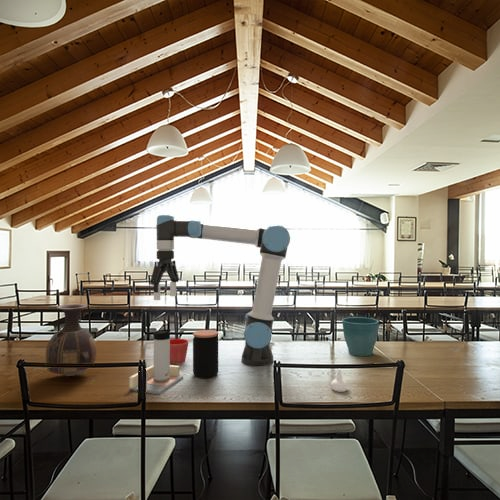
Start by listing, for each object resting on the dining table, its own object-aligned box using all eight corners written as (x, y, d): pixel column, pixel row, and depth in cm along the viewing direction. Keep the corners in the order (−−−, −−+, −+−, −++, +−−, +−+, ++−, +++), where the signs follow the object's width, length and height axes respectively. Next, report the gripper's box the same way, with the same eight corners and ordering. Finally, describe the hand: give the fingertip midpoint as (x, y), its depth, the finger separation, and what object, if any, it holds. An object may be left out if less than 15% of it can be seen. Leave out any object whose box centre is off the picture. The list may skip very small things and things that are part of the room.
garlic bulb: (329, 387, 148) (327, 367, 148) (345, 386, 148) (343, 365, 148) (333, 394, 142) (331, 372, 142) (350, 392, 142) (348, 371, 142)
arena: (183, 378, 157) (183, 366, 157) (159, 394, 140) (159, 380, 140) (155, 375, 161) (155, 363, 161) (129, 390, 144) (129, 377, 144)
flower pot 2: (340, 356, 189) (340, 322, 189) (343, 347, 206) (343, 316, 206) (378, 359, 183) (378, 324, 183) (378, 350, 200) (378, 318, 200)
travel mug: (171, 381, 150) (171, 331, 150) (153, 383, 148) (153, 332, 148) (169, 376, 156) (170, 327, 156) (153, 378, 154) (153, 328, 154)
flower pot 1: (183, 365, 174) (183, 344, 174) (161, 364, 176) (161, 343, 176) (191, 359, 185) (191, 339, 185) (170, 358, 187) (170, 338, 187)
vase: (39, 375, 161) (39, 304, 161) (87, 366, 174) (87, 300, 174) (53, 390, 144) (52, 311, 144) (104, 379, 156) (104, 306, 156)
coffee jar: (223, 373, 163) (223, 331, 163) (208, 380, 154) (208, 336, 154) (203, 369, 169) (203, 329, 169) (187, 376, 160) (187, 333, 160)
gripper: (172, 250, 182) (172, 294, 182) (141, 250, 158) (141, 301, 158) (186, 250, 179) (186, 295, 179) (157, 250, 156) (157, 302, 156)
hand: (165, 298), depth 169 cm, fingers open, 13 cm apart
